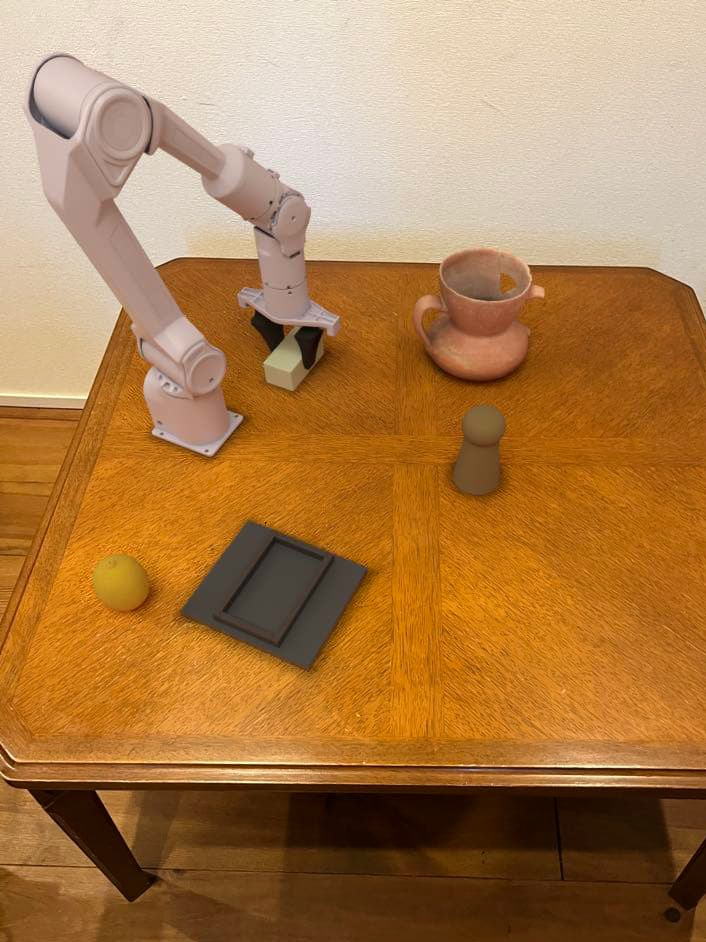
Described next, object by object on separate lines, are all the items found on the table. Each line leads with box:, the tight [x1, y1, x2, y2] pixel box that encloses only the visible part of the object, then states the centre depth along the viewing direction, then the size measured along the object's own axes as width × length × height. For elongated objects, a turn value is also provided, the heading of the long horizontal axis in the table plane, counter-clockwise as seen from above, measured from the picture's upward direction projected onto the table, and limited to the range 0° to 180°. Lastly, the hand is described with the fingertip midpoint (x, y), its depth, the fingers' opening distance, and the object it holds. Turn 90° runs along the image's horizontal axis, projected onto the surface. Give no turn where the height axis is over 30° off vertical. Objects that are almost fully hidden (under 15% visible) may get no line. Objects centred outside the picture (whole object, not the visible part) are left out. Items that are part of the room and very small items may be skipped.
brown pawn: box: [452, 404, 507, 496], centre depth 90 cm, size 6×6×11 cm
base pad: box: [179, 519, 369, 673], centre depth 83 cm, size 16×14×2 cm
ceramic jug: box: [412, 247, 546, 382], centre depth 102 cm, size 18×14×14 cm
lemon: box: [92, 553, 151, 613], centre depth 79 cm, size 6×6×8 cm
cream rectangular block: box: [262, 325, 325, 392], centre depth 104 cm, size 4×9×4 cm, turn 155°
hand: (294, 360), depth 105 cm, fingers closed on cream rectangular block, 4 cm apart
